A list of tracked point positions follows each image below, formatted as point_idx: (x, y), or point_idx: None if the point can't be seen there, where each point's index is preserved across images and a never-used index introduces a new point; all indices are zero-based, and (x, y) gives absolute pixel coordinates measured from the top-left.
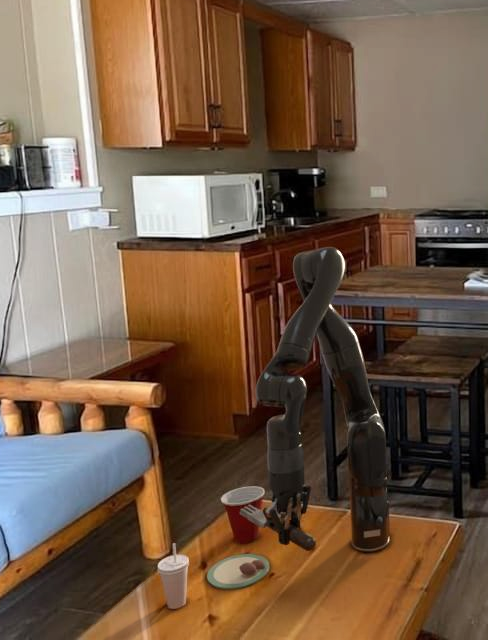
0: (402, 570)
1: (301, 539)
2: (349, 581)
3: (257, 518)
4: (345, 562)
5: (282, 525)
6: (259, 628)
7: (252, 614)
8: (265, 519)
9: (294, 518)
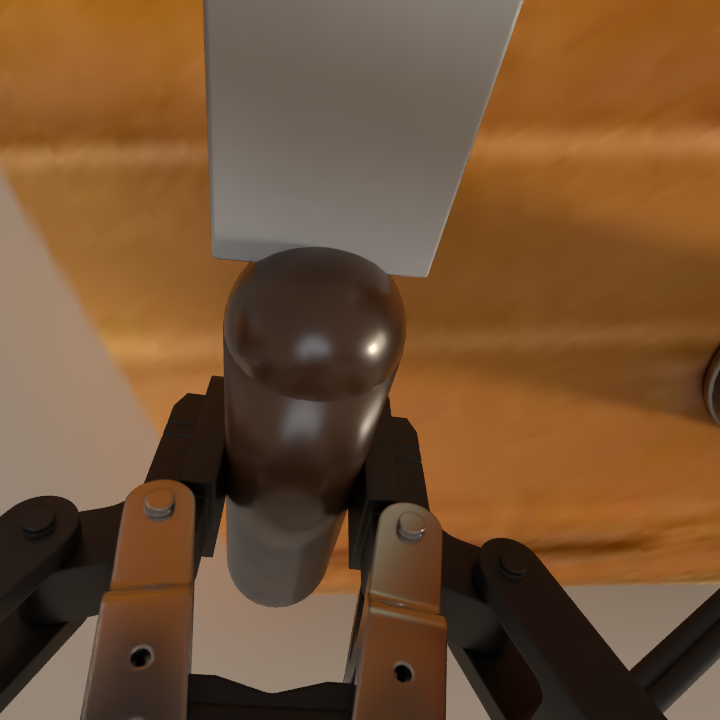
0: (568, 521)
1: (233, 565)
2: (474, 397)
3: (240, 126)
4: (622, 328)
5: (76, 629)
6: (40, 201)
7: (104, 101)
8: (317, 222)
9: (364, 565)
